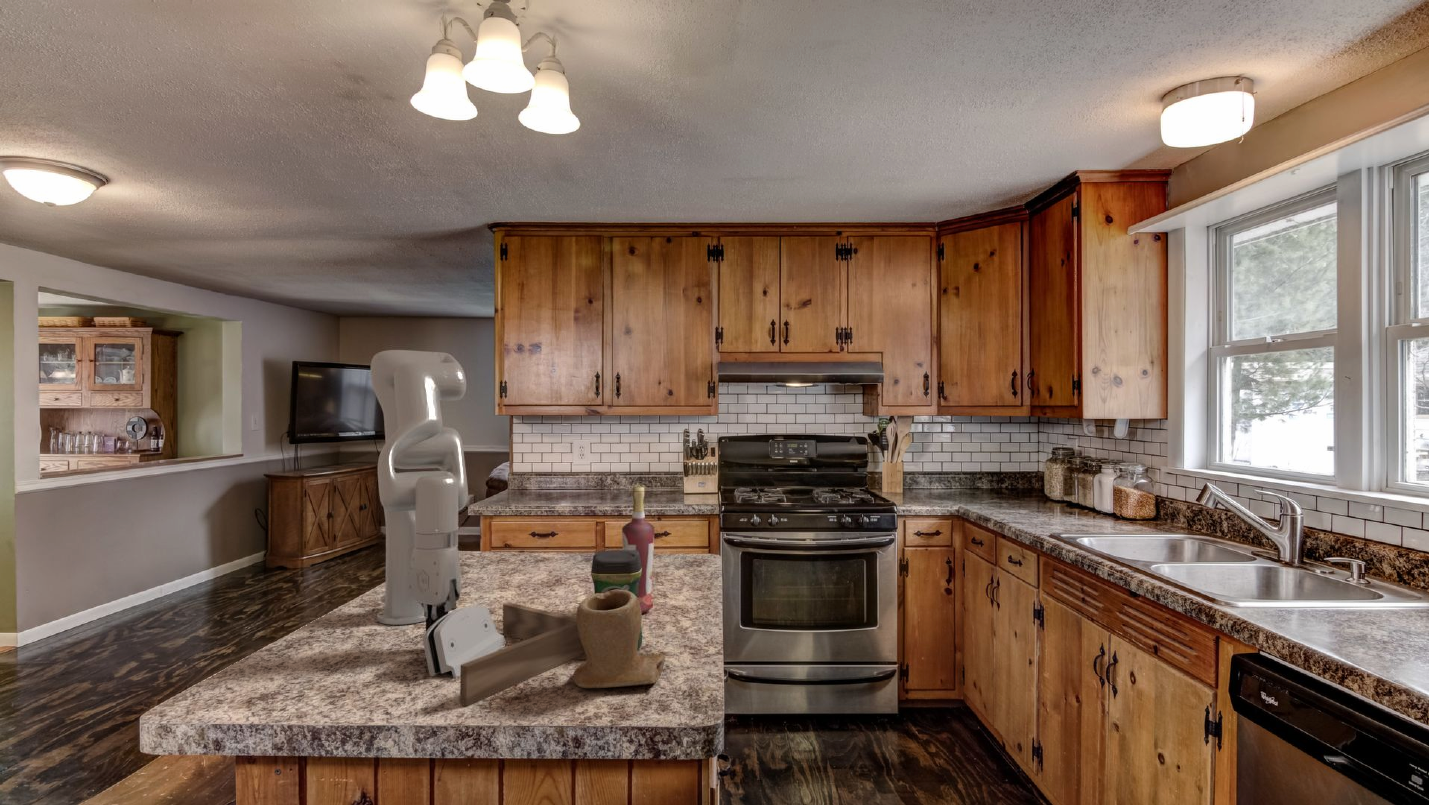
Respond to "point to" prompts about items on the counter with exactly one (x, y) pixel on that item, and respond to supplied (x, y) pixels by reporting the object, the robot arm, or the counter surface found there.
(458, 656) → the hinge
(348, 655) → the counter surface
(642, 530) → the liquor
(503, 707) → the counter surface
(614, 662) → the tan boot-shaped piece
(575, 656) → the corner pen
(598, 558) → the coffee jar
